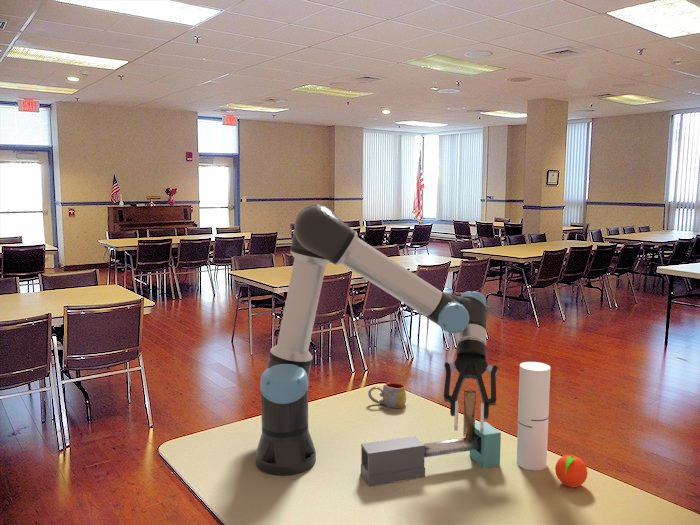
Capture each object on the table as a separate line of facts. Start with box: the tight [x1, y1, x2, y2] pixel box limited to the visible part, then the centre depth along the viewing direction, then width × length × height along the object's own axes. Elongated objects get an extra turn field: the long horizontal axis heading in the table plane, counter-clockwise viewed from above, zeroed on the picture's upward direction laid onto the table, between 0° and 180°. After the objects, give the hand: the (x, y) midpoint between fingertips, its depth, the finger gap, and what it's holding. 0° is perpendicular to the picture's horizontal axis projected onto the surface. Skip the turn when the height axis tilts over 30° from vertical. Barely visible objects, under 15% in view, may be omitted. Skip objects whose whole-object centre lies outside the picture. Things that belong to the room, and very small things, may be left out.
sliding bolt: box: [423, 389, 481, 459], centre depth 141 cm, size 3×18×15 cm, turn 107°
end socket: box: [469, 421, 502, 469], centre depth 144 cm, size 7×4×8 cm, turn 17°
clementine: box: [554, 454, 589, 488], centre depth 132 cm, size 8×7×7 cm
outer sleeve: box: [360, 435, 426, 487], centre depth 137 cm, size 6×14×8 cm, turn 107°
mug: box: [367, 382, 407, 409], centre depth 183 cm, size 12×7×7 cm, turn 81°
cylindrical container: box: [516, 361, 551, 472], centre depth 142 cm, size 7×7×25 cm
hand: (468, 429), depth 139 cm, fingers open, 5 cm apart
